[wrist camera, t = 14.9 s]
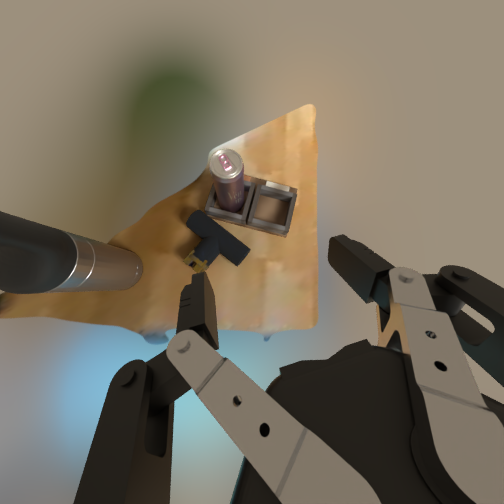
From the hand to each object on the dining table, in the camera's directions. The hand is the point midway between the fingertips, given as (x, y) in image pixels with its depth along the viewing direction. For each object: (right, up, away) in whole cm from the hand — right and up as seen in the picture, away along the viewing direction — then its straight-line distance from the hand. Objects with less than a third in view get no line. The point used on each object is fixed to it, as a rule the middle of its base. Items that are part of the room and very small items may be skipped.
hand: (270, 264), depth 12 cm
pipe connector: (-11, +1, +33) cm, 35 cm away
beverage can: (-6, +13, +34) cm, 37 cm away
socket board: (-1, +13, +36) cm, 38 cm away
